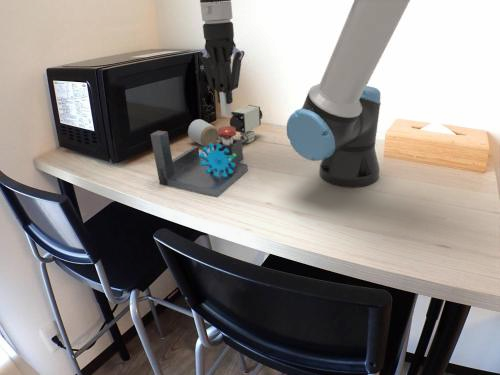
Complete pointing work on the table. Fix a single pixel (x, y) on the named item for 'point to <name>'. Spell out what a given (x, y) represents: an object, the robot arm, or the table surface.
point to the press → (194, 167)
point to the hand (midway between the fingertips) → (226, 114)
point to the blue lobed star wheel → (217, 160)
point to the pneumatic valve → (246, 121)
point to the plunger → (227, 134)
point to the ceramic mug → (203, 133)
